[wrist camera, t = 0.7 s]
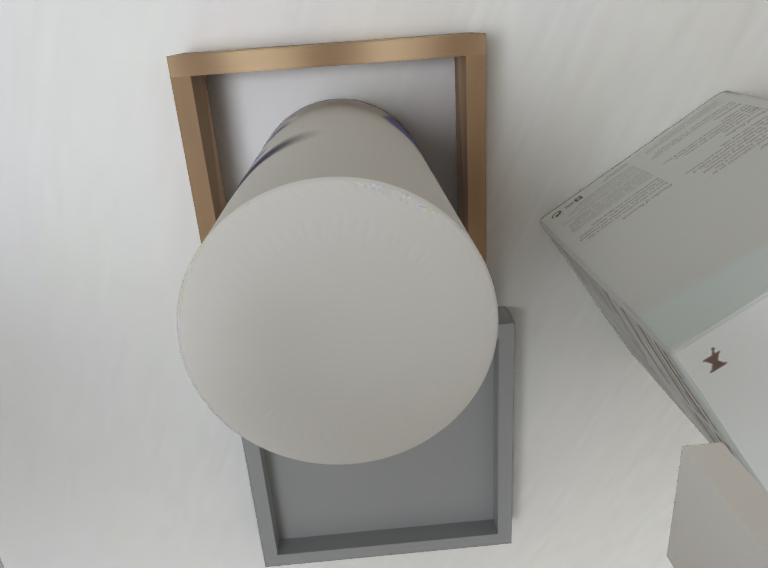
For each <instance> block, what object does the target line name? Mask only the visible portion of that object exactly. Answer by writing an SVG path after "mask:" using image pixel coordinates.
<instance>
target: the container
mask: <svg viewBox="0 0 768 568" xmlns="http://www.w3.org/2000/svg"><path fill="white" fill-rule="evenodd" d="M177 332H178V340H179V346H180V351H181V355H182V358H183V361H184V364H185V367H186V370H187V372H188V374H189V377H190V379H191V381H192V383H193V384H194V386H195V388H196V390H197V391H198V393H199V394H200V396H201V397H202V399H203V400H204V401H205V403H206V404H207V405H208V406H209V408H210V409H211V410H212V411H213V412H214V413H215V414H216V415H217V416H218V417H219V418H220V419H221V420H222V421H223V422H224V423H225V424H226V425H227V426H229V427H230V428H231V429H232V430H234V431H235V432H236V433H238V434H239V435H241V436H242V437H244V438H245V439H247V440H248V441H250V442H252V443H254V444H256V445H257V446H259V447H261V448H264V449H266V450H268V451H270V452H273V453H276V454H278V455H281V456H284V457H288V458H291V459H295V460H299V461H304V462H310V463H318V464H333V465H341V464H357V463H364V462H370V461H375V460H380V459H383V458H387V457H390V456H393V455H396V454H399V453H402V452H404V451H407V450H409V449H411V448H413V447H415V446H417V445H419V444H421V443H423V442H425V441H426V440H428V439H430V438H431V437H433V436H434V435H436V434H437V433H438V432H440V431H441V430H442V429H444V428H445V427H446V426H447V425H449V424H450V423H451V422H452V421H453V420H454V419H455V418H456V417H457V416H458V415H459V414H460V413H461V412H462V411H463V410H464V409H465V408H466V406H467V405H468V404H469V403H470V401H471V400H472V399H473V397H474V396H475V394H476V393H477V391H478V390H479V388H480V386H481V384H482V383H483V381H484V379H485V377H486V374H487V372H488V370H489V367H490V365H491V362H492V359H493V355H494V352H495V347H496V342H497V335H498V306H497V299H496V293H495V289H494V285H493V282H492V279H491V276H490V273H489V271H488V268H487V266H486V264H485V262H484V260H483V258H482V256H481V254H480V253H479V251H478V249H477V248H476V246H475V244H474V243H473V241H472V239H471V237H470V236H469V234H468V232H467V231H466V229H465V227H464V226H463V224H462V222H461V221H460V219H459V217H458V215H457V214H456V212H455V210H454V209H453V207H452V205H451V204H450V202H449V200H448V199H447V197H446V195H445V193H444V192H443V190H442V188H441V187H440V185H439V183H438V182H437V180H436V178H435V177H434V175H433V173H432V171H431V170H430V168H429V166H428V165H427V163H426V161H425V160H424V158H423V156H422V155H421V153H420V151H419V149H418V148H417V146H416V144H415V143H414V141H413V139H412V138H411V136H410V135H409V134H408V132H407V131H406V130H405V129H404V127H403V126H402V125H401V124H400V123H399V122H398V121H396V120H395V119H394V118H393V117H392V116H390V115H389V114H387V113H386V112H384V111H382V110H381V109H379V108H377V107H375V106H372V105H370V104H367V103H363V102H360V101H355V100H347V99H333V100H325V101H321V102H317V103H314V104H311V105H308V106H306V107H304V108H302V109H300V110H298V111H296V112H295V113H293V114H292V115H290V116H289V117H288V118H286V119H285V120H284V121H283V122H282V123H281V124H280V125H279V126H278V127H277V128H276V130H275V131H274V132H273V133H272V135H271V136H270V138H269V139H268V141H267V143H266V144H265V146H264V147H263V149H262V150H261V152H260V153H259V155H258V157H257V158H256V160H255V161H254V163H253V164H252V166H251V168H250V169H249V171H248V172H247V174H246V175H245V177H244V179H243V180H242V182H241V183H240V185H239V186H238V188H237V190H236V191H235V193H234V195H233V196H232V197H231V199H230V200H229V202H228V204H227V205H226V207H225V208H224V210H223V211H222V213H221V215H220V216H219V218H218V219H217V221H216V222H215V224H214V225H213V227H212V229H211V230H210V232H209V233H208V235H207V236H206V238H205V240H204V241H203V243H202V244H201V246H200V247H199V249H198V251H197V252H196V254H195V256H194V257H193V259H192V261H191V263H190V265H189V268H188V270H187V272H186V275H185V278H184V280H183V284H182V287H181V291H180V296H179V301H178V310H177Z"/></svg>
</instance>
